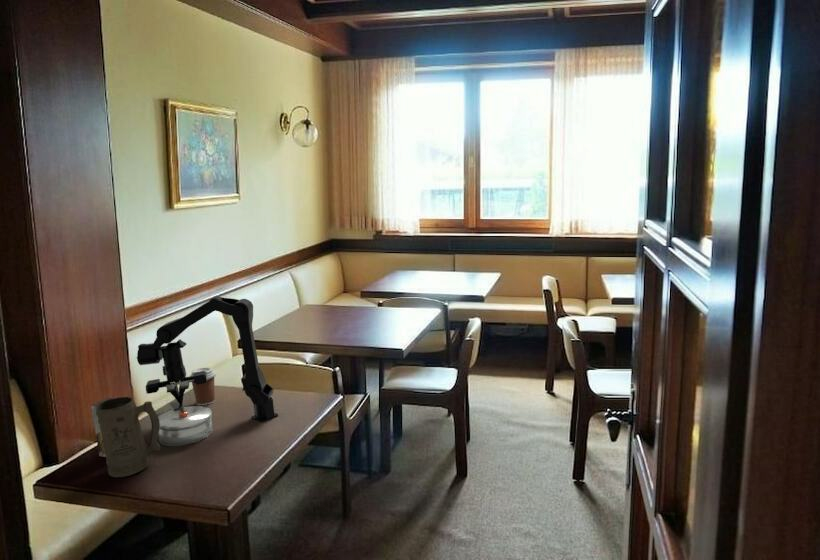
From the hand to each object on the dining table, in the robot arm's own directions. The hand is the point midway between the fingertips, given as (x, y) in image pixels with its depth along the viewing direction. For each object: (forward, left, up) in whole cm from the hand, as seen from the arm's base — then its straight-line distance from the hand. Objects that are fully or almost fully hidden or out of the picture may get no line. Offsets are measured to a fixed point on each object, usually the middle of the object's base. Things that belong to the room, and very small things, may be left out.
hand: (181, 406), depth 212 cm
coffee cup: (+10, -15, -6) cm, 19 cm away
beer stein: (-19, +27, -6) cm, 33 cm away
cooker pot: (-7, +6, -6) cm, 11 cm away
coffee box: (-5, +25, -6) cm, 26 cm away
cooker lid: (-7, +5, 0) cm, 9 cm away
